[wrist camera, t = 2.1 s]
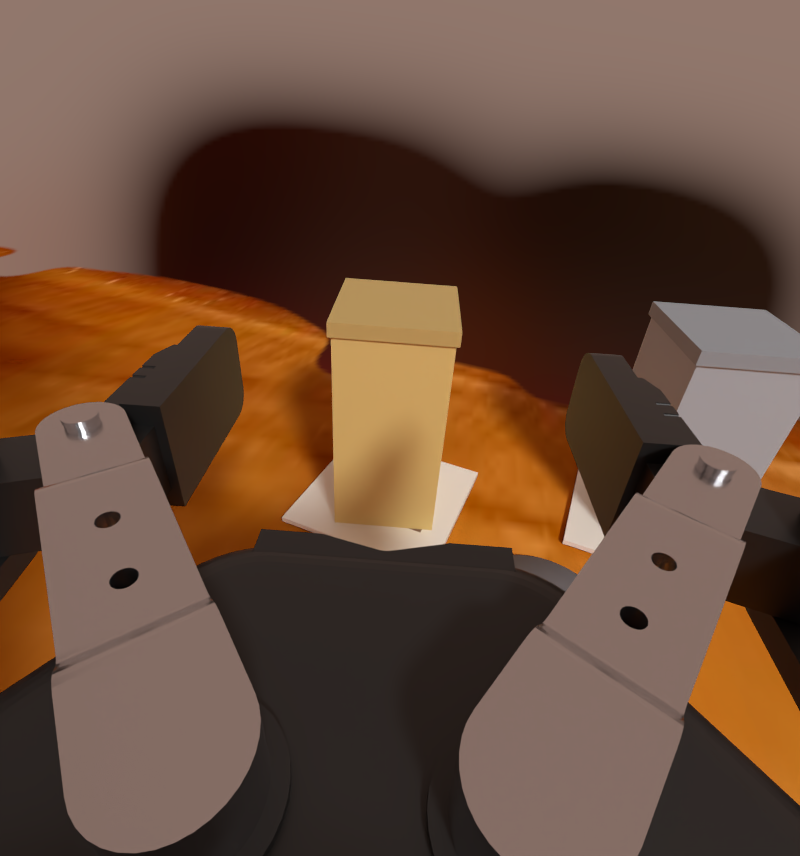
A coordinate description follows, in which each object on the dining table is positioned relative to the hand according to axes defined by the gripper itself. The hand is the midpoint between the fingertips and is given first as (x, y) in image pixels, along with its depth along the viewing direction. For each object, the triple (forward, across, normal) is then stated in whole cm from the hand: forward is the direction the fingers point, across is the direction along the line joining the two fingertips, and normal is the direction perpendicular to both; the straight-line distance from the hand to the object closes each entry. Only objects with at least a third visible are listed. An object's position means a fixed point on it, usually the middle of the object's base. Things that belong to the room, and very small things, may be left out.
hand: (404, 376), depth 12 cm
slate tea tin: (+13, -15, +15) cm, 25 cm away
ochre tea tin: (+13, +1, +15) cm, 20 cm away
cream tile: (+13, +1, +15) cm, 20 cm away
